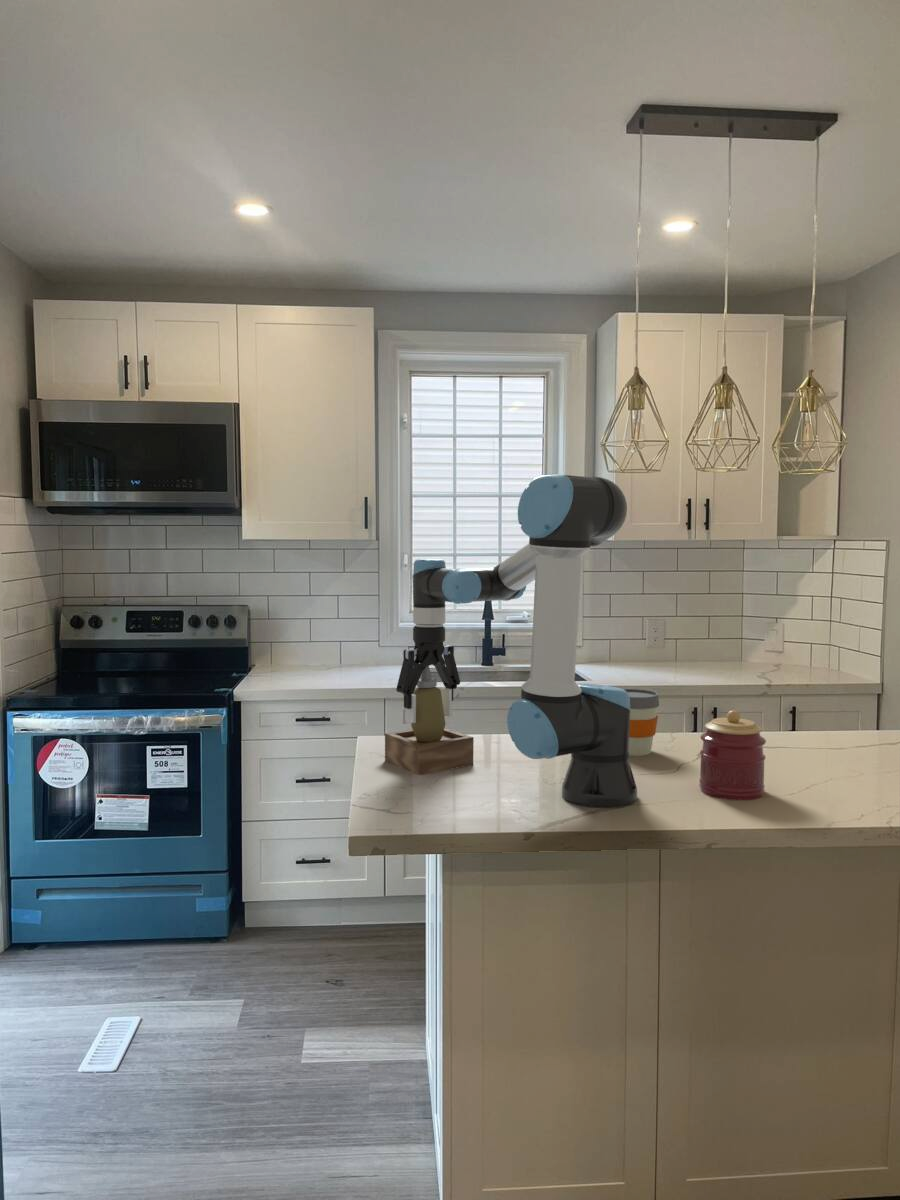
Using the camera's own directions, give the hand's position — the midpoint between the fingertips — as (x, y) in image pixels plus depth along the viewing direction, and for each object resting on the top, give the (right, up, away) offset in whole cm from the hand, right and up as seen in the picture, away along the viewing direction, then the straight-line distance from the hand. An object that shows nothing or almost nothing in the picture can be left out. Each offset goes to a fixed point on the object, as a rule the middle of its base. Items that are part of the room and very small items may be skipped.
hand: (429, 718), depth 205 cm
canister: (+64, -13, -23) cm, 69 cm away
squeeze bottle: (0, -5, 0) cm, 5 cm away
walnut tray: (0, -11, +1) cm, 11 cm away
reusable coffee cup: (+50, -10, +12) cm, 53 cm away
